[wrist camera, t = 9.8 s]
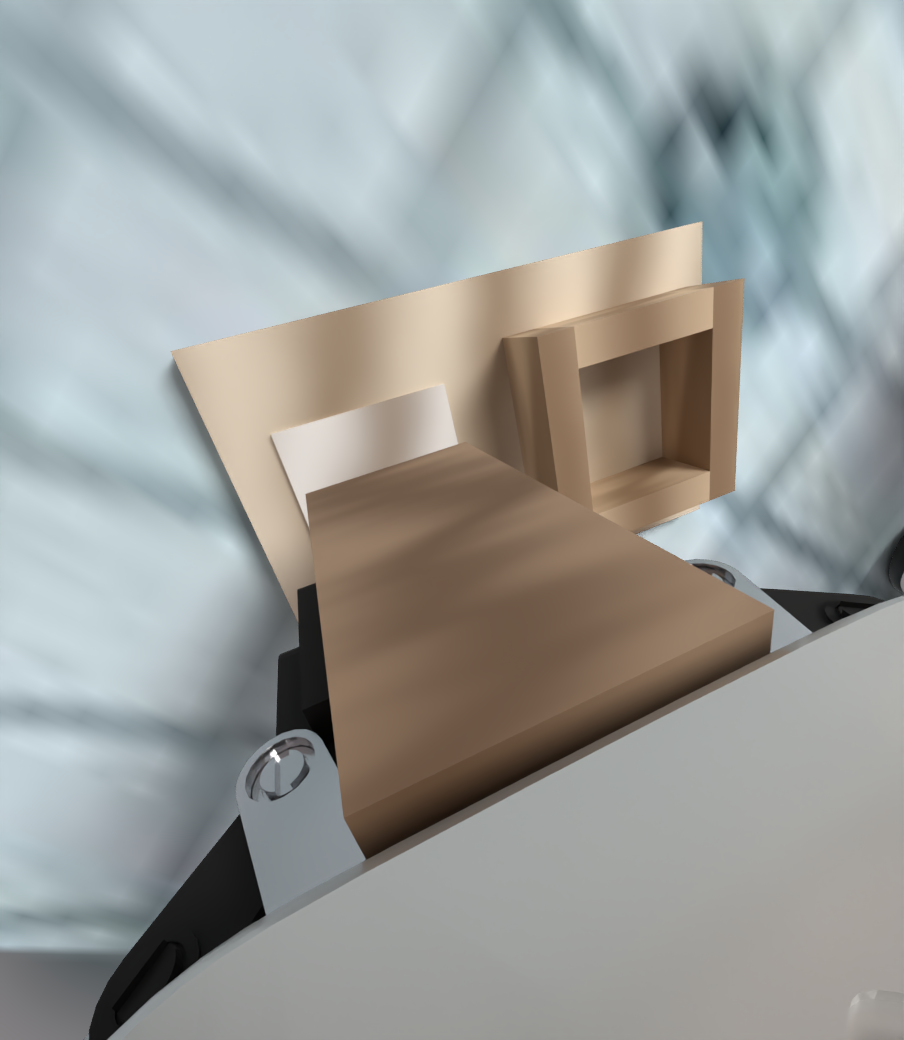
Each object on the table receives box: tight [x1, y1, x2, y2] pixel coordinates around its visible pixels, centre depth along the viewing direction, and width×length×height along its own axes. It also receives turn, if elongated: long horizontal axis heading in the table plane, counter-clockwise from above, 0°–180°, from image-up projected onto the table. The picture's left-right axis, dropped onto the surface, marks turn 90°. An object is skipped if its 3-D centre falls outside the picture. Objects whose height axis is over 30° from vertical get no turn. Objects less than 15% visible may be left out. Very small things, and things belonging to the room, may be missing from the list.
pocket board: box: [171, 222, 744, 621], centre depth 19 cm, size 22×14×4 cm, turn 104°
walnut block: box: [305, 442, 774, 860], centre depth 10 cm, size 5×5×10 cm
